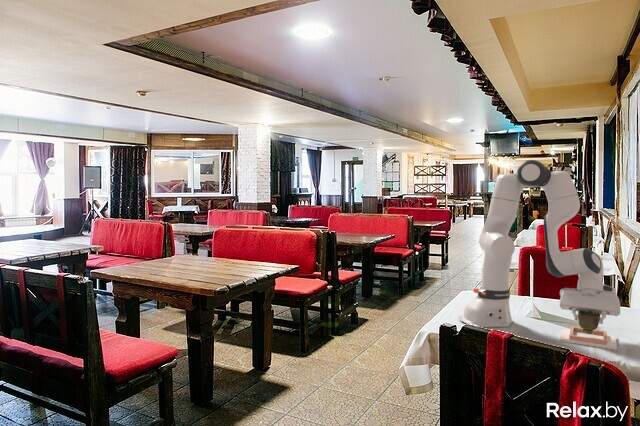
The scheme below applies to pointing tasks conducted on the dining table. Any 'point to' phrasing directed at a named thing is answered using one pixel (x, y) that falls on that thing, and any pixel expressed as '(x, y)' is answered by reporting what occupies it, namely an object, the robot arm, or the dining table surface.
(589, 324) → the cup
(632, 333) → the dining table surface
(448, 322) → the dining table surface
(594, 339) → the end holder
